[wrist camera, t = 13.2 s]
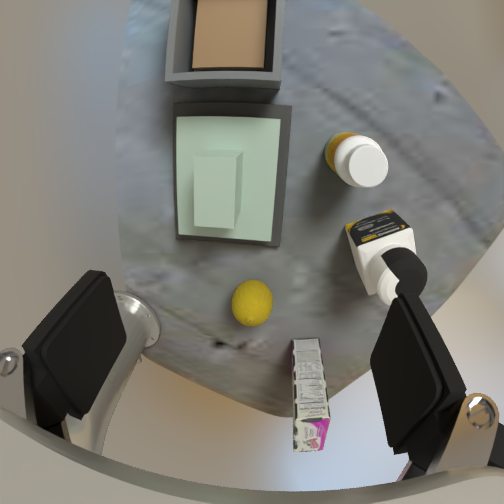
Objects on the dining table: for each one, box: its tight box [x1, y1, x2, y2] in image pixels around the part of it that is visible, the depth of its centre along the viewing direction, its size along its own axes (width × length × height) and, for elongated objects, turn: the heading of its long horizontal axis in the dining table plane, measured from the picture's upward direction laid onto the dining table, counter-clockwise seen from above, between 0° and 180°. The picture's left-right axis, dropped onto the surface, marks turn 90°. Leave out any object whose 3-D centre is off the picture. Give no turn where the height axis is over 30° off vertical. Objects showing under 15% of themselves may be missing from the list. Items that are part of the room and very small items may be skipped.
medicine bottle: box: [345, 209, 427, 306], centre depth 32 cm, size 7×7×12 cm
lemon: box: [232, 280, 273, 326], centre depth 38 cm, size 6×6×8 cm
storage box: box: [165, 0, 285, 89], centre depth 23 cm, size 14×11×8 cm
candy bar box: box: [292, 338, 330, 452], centre depth 41 cm, size 11×5×16 cm, turn 6°
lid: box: [176, 116, 281, 242], centre depth 30 cm, size 15×12×8 cm
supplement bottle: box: [324, 132, 388, 187], centre depth 28 cm, size 5×5×10 cm
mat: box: [173, 102, 292, 247], centre depth 34 cm, size 18×14×1 cm
